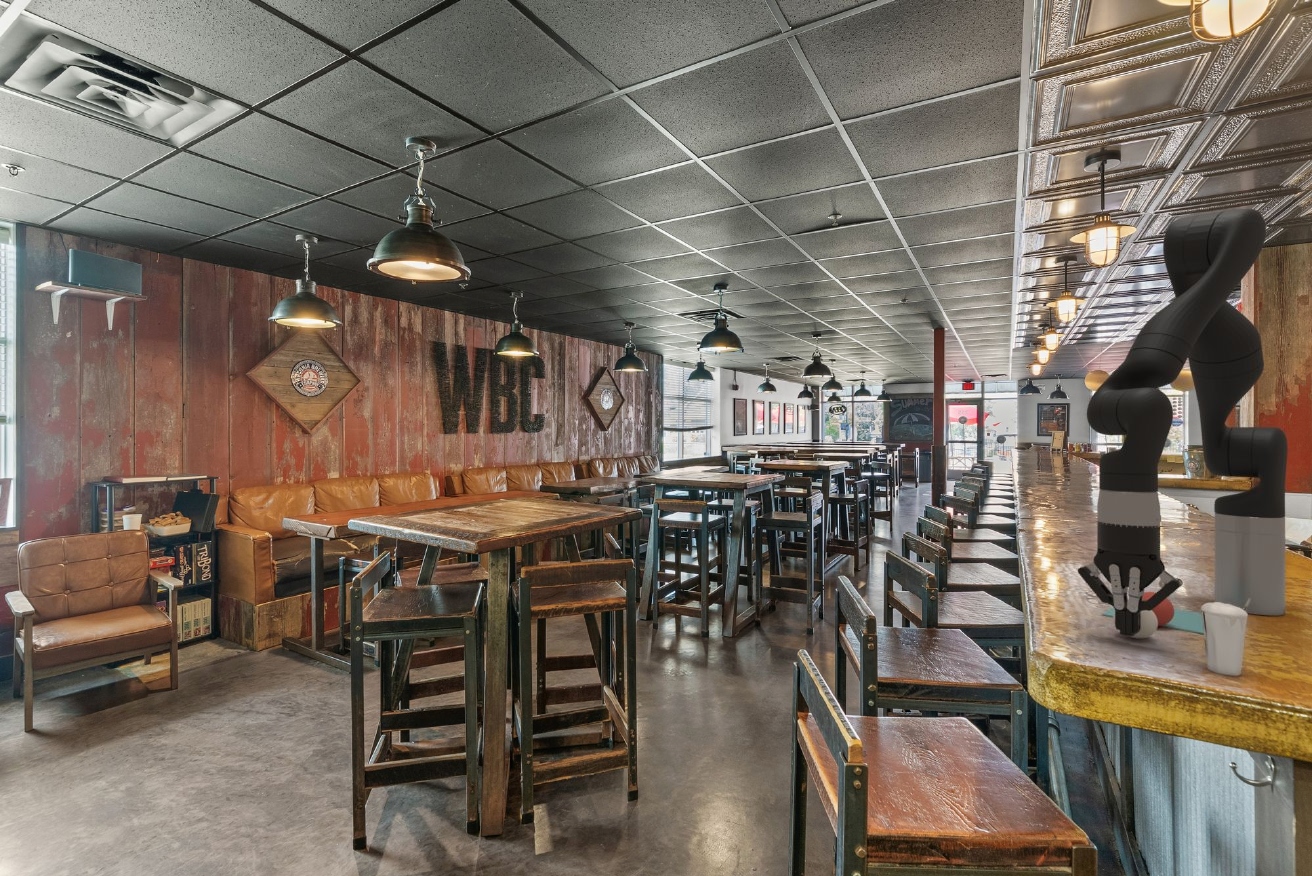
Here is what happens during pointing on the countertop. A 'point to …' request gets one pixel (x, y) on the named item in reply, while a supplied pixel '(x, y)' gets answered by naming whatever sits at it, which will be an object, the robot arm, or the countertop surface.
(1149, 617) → the ball
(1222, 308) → the robot arm
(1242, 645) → the milkshake
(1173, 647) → the countertop surface
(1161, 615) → the ball
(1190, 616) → the mark
